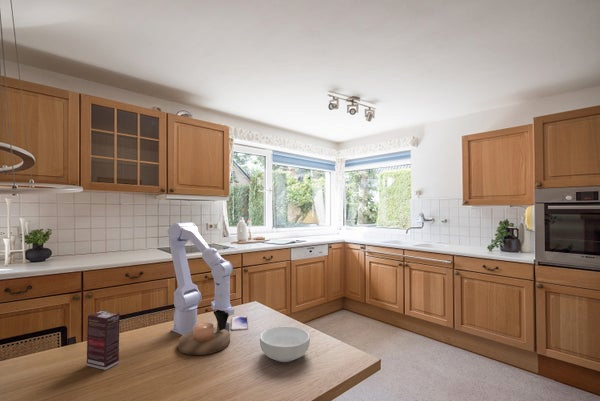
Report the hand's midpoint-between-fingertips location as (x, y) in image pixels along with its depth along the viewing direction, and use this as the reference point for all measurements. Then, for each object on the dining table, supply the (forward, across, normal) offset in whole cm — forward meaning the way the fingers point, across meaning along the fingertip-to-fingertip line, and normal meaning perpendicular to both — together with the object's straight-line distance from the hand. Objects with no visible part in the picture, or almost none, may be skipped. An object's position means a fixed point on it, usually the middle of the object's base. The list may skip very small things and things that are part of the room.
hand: (222, 329), depth 112 cm
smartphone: (+4, -8, +13) cm, 16 cm away
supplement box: (+3, -9, -37) cm, 38 cm away
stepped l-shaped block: (+3, -4, +4) cm, 6 cm away
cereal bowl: (+4, +27, +9) cm, 29 cm away
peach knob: (+1, 0, -8) cm, 8 cm away
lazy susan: (+3, 0, -7) cm, 8 cm away
